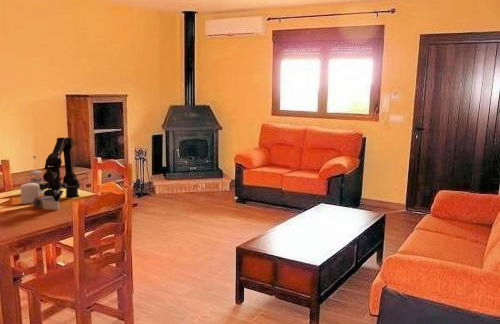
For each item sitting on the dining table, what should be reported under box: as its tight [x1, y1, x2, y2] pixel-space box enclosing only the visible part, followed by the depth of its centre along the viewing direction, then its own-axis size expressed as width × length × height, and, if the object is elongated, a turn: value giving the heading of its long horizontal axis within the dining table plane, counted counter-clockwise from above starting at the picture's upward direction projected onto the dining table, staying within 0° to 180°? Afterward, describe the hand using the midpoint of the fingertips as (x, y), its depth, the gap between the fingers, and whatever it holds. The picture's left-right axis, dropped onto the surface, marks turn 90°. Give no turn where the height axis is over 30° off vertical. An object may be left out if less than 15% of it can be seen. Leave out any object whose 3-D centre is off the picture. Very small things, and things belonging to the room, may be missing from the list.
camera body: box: [32, 195, 55, 210], centre depth 259 cm, size 12×8×6 cm
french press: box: [25, 155, 46, 195], centre depth 289 cm, size 10×12×25 cm
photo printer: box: [20, 182, 41, 205], centre depth 265 cm, size 10×4×12 cm, turn 123°
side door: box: [42, 200, 60, 210], centre depth 252 cm, size 10×2×5 cm, turn 80°
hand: (57, 203), depth 253 cm, fingers closed
